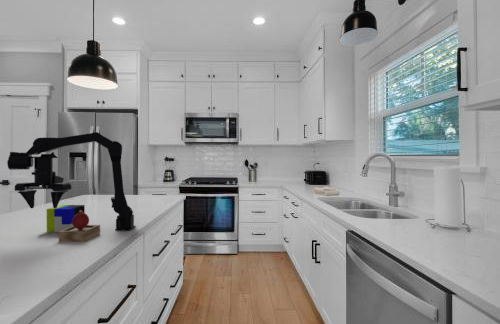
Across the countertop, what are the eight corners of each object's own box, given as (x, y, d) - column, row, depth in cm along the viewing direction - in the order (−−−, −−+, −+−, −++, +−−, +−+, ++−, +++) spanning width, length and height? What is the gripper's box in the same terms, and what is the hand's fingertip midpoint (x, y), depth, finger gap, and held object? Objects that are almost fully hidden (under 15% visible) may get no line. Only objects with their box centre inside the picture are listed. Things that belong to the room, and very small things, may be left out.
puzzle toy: (69, 232, 112) (69, 209, 111) (46, 231, 112) (46, 209, 112) (84, 226, 122) (84, 205, 121) (63, 225, 122) (63, 204, 122)
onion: (92, 228, 106) (92, 209, 105) (79, 232, 100) (79, 212, 100) (82, 227, 107) (82, 208, 107) (68, 231, 102) (68, 211, 102)
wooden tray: (99, 233, 109) (99, 225, 109) (84, 241, 99) (84, 231, 99) (76, 233, 109) (76, 224, 109) (58, 241, 99) (58, 231, 99)
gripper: (80, 168, 110) (80, 204, 111) (37, 168, 110) (37, 204, 111) (61, 169, 99) (61, 209, 99) (13, 169, 99) (13, 209, 99)
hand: (43, 208), depth 103 cm, fingers open, 9 cm apart
